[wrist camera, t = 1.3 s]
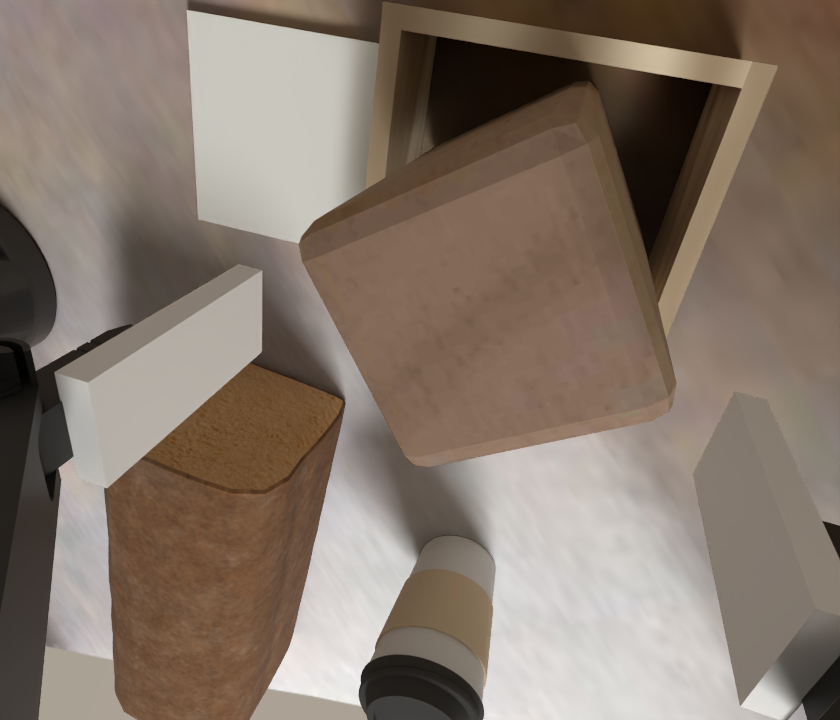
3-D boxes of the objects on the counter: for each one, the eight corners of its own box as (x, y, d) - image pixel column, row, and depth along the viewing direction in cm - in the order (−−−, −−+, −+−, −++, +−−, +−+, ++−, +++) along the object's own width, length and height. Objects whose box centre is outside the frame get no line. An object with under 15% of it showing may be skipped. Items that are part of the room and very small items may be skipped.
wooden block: (430, 147, 35) (276, 239, 18) (593, 71, 31) (586, 100, 14) (490, 292, 39) (406, 483, 22) (644, 241, 35) (688, 427, 18)
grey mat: (203, 217, 42) (198, 219, 41) (192, 10, 35) (186, 10, 35) (371, 257, 40) (368, 260, 39) (393, 45, 33) (390, 45, 33)
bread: (185, 587, 65) (91, 710, 53) (198, 334, 47) (62, 432, 35) (298, 636, 64) (227, 774, 52) (355, 394, 46) (268, 517, 34)
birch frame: (388, 289, 41) (352, 330, 35) (423, 9, 32) (382, 1, 26) (632, 349, 38) (638, 405, 32) (742, 62, 29) (778, 65, 23)
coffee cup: (390, 541, 52) (323, 699, 40) (471, 513, 48) (425, 679, 36) (444, 609, 55) (398, 778, 42) (527, 587, 51) (503, 768, 38)
